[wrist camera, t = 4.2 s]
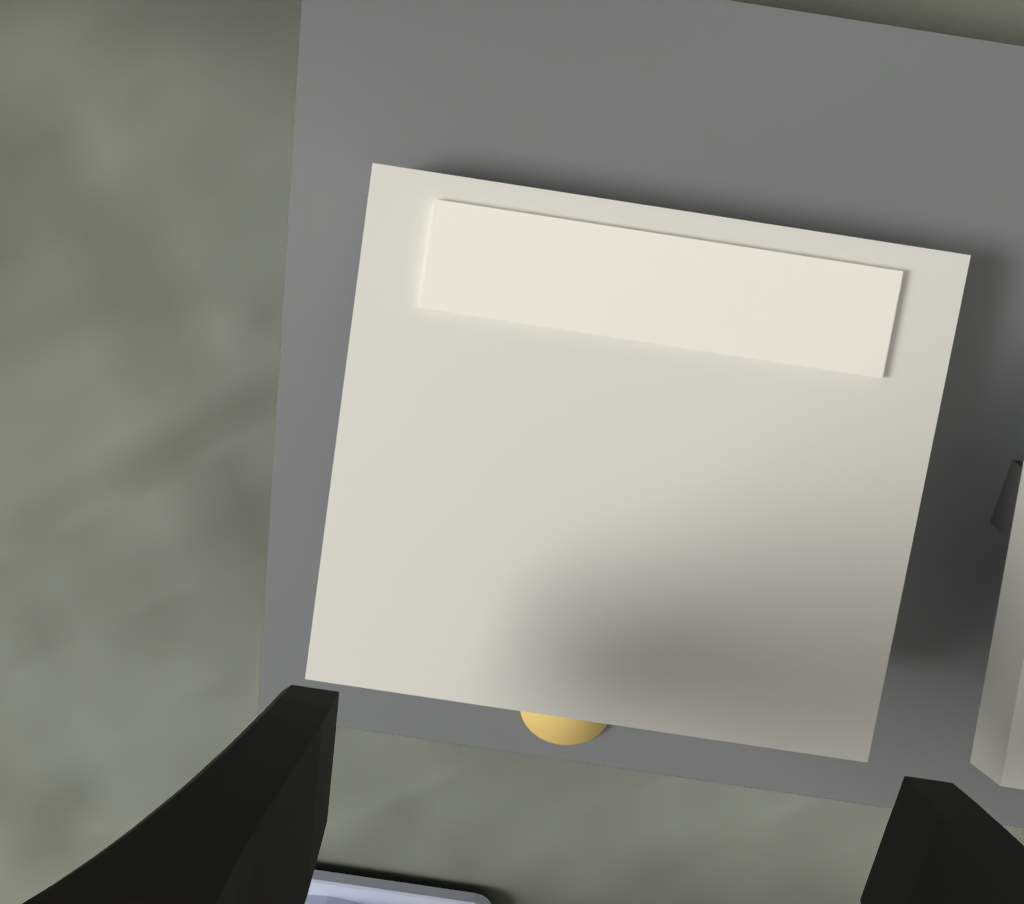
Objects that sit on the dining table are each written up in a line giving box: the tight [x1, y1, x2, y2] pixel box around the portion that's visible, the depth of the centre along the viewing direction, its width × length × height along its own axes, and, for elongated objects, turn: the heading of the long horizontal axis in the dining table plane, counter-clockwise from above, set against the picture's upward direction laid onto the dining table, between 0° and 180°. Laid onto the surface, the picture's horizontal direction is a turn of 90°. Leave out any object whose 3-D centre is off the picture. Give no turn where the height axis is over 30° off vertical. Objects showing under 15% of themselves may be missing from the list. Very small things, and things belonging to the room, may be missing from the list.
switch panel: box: [258, 0, 1024, 828], centre depth 18 cm, size 14×23×3 cm, turn 82°
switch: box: [305, 163, 971, 763], centre depth 15 cm, size 8×9×1 cm
